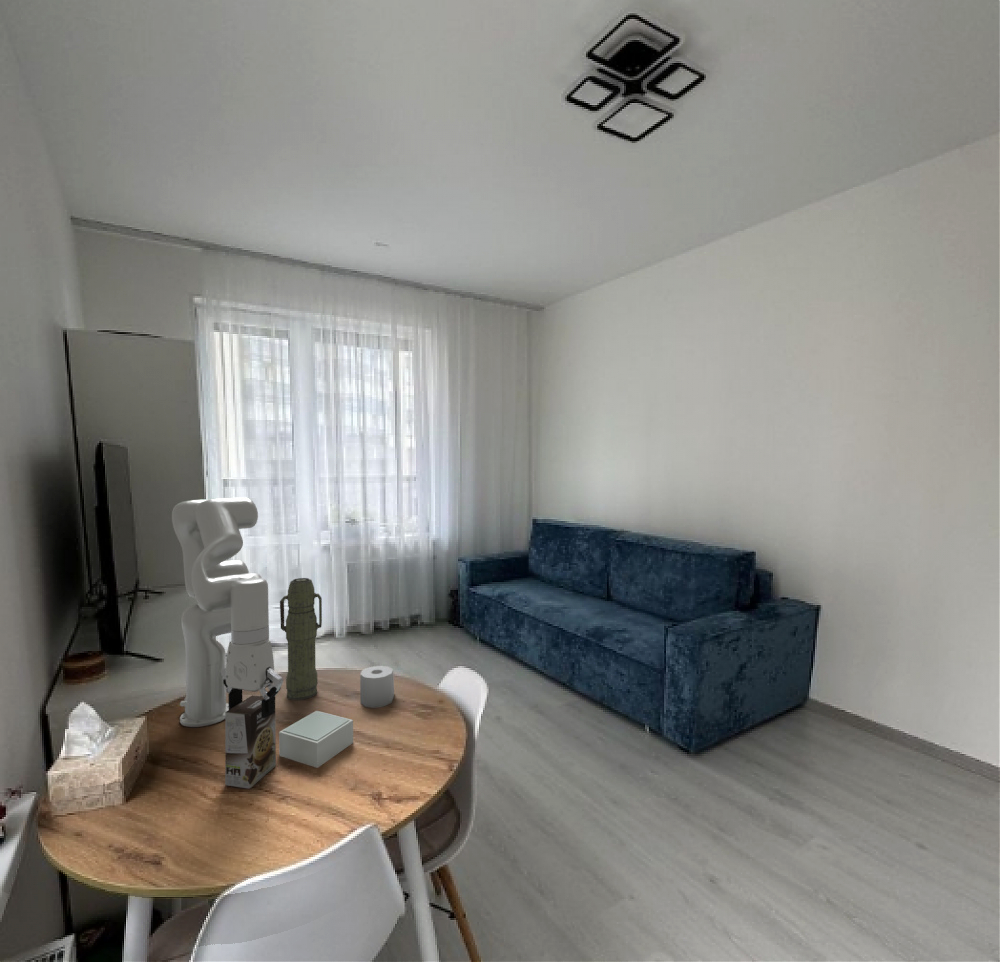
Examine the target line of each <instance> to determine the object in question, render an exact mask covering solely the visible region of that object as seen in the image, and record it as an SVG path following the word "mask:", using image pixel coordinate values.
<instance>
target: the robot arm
mask: <svg viewBox="0 0 1000 962" xmlns="http://www.w3.org/2000/svg"><path fill="white" fill-rule="evenodd" d="M258 520H259V513H258V509H257V506H256V504H255V502H254V501H253V500H252V499H250V498H249V497H221V498H219V497H218V498H210V499H205V498H204V499H191V500H190V499H189V500H185V501H184V500H183V501H181V502H179V503H177V504H176V505H174V507H173V509H172V512H171V522H172V527H173V530H174V533H175V535H176V538H177V540H178V541H179V543H180V547H181V549H182V559H183V572H184V575H183V576H184V585H185V590H186V593H187V595H188V596H189V597H191V598H195V600H196V604H193V605H190V606H188V607H187V608H185V609H184V610H183V612H182V614H181V618H180V619H181V621H180V623H181V630H182V633H183V638H184V647H185V684H186V685H185V686H186V687H185V689H186V690H185V691H186V692H185V697H184V698H183V699H184V700H181V701H180V703H179V706H181V707H184V712H183V713H182V714H181V715H180V717H179V722H180V723H179V724H180V725H182V726H184V727H187V728H188V727H189V728H199V727H207V726H210V725H213V724H217V723H219V722H222V721H224V720H225V712H226V711H228V710H230V709H231V708H233V707H234V706H236V705H238V704H239V703H241V702H242V701H243V691H248V692H251V693H252V692H254V693H256V692H258V691H259V692H260V695H261V696H263V698H264V699H263V700H262V718H266V717H268V716H270V715H272V714H274V713H275V714H276V696H277V695H278V694H279V692H280V691H281V688H282V686H283V683H284V678H283V677H282V676H281V675H279V673H278V672H276V671H275V660H274V652H273V647H272V643H271V642H272V641H271V640H270V619H269V614H270V612H269V584H268V581H267V580H266V579H265V578H263V577H262V576H261V575H260V574H259V573H257V572H249V569H248V567H247V565H246V563H245V562H244V561H242V560H241V559H232V558H233V557H235V556H236V555H238V554H239V552H240V551H241V549H242V548H243V545H244V539H243V537H242V535H241V531H240V530H243V529H244V530H245V529H251V528H252V529H253V528H254V527H255V526H256V525H257V523H258ZM226 634H230V635H231V640H230V641H229V643H228V646H227V653H226V649H225V647H224V645H222V644H221V642H219V641H218V640H217V639H216V637H218V636H221V635H226ZM266 688H267V689H268V691H267V689H266ZM227 695H228V696H227ZM227 697H228V702H227Z"/></svg>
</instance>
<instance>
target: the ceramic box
mask: <svg viewBox="0 0 1000 962" xmlns="http://www.w3.org/2000/svg"><path fill="white" fill-rule="evenodd" d="M278 739H279V740H278V741H279V742H278V748H279V749H278V751H279V757H282V758H285V759H288V760H291V761H295V762H298V763H301V764H304V765H307V766H310V767H313V768H316V769H317V768H320V767H321V766H322V765H323V764H325V763H326V762H329V760H331V759H332V758H333V757H336V756H337V755H338V754H339V753H340V752H342V751H343V750H345V749H347V747H349V746H351V745H353V743H354V720H353V719H351V718H346V717H342V716H338V715H335V714H331V713H327V712H323V711H319V710H315V711H314V712H311V713H310V714H308V715H306V716H305V717H303V718H301V719H299V720H298V721H296V722H294V723H293V724H291V725H289V726H287V727H286V728H283V729H281V730H280V731H279V732H278Z"/></svg>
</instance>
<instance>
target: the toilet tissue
mask: <svg viewBox="0 0 1000 962" xmlns="http://www.w3.org/2000/svg"><path fill="white" fill-rule="evenodd" d="M359 678H360V679H359V682H360V683H359V685H360V692H359V693H360V694H359V695H360V701H359V702H360V704H361V705H362V706H363V707H364V708H371V709H377V708H382V707H385V706H388V705H390V704H392V702H393V700H394V696H395V679H394V669H393V668H391V666H387V665H386V666H385V665H373V666H369V667H366V668H364V669H361V671H360V675H359Z"/></svg>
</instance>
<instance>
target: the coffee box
mask: <svg viewBox="0 0 1000 962" xmlns="http://www.w3.org/2000/svg"><path fill="white" fill-rule="evenodd" d="M263 699H264V698H263V696H262V695H253V694H252V695H250V696H249V697H247V698H246V699H244V700H242V702H241V703H239V704H238V705H236V706H234V707H233V708H231V709H230V710H228V711H226V712H225V719H224V720H225V724H224V725H225V728H224V729H225V732H224V733H225V734H224V735H225V740H224V746H225V747H224V749H225V750H224V751H225V753H224V754H225V756H224V757H225V760H224V761H225V763H224V764H225V766H224V767H225V768H224V769H225V771H224V773H225V778H224V779H225V780H224V781H225V782H224V783H225V786H230V787H233V788H234V787H236V788H242V789H246V790H247V789H252V787H254V786H255V785H256V784H257V783H258V782H260V780H261V779H262V778H263V777H265V776H266V775H267V774H268V773H269V772H270V771H271V770H272V769H274V768H275V767H276V766H277V763H276V762H277V759H276V758H277V757H276V756H277V754H276V753H277V751H276V750H277V749H276V747H277V746H276V744H277V742H276V735H277V734H276V733H277V732H276V731H277V730H276V712H275V713H274V714H272V715H270V716H268V717H266V718H262V700H263Z"/></svg>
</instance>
